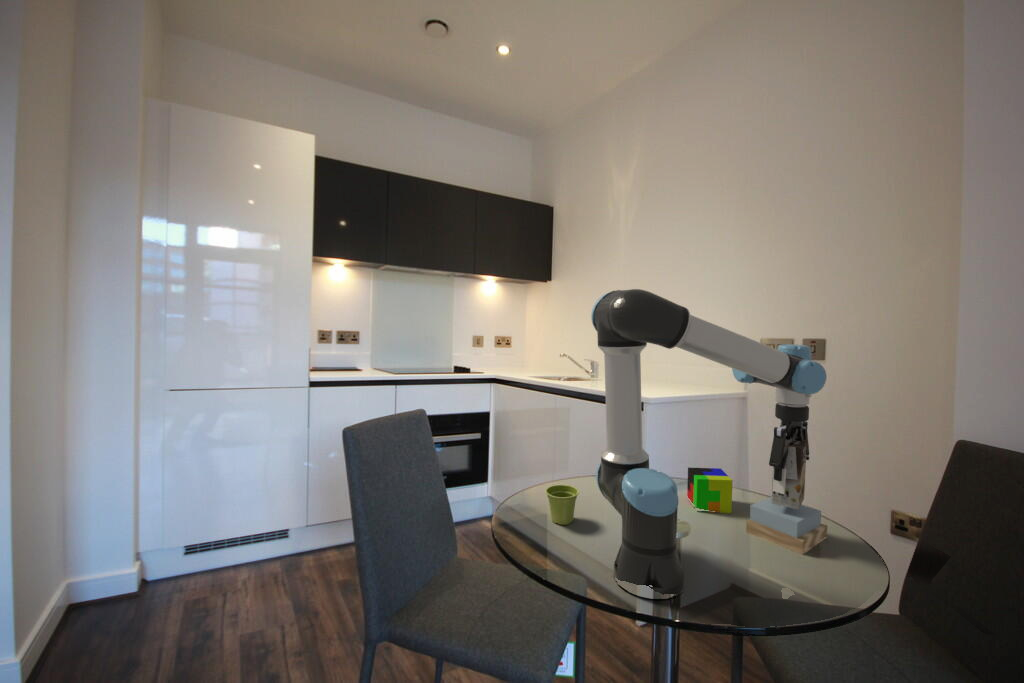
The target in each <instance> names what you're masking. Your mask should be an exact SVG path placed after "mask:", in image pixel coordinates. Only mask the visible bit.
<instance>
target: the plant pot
mask: <svg viewBox="0 0 1024 683" xmlns="http://www.w3.org/2000/svg"><path fill="white" fill-rule="evenodd" d="M579 491H580V490H579V489H578V488H576V487H574V486H571V485H570V484H569V485H567V484H555V485H554V484H553V485H550V486H548V487H546V488H545V491H544V492H545V494H546V497H547V499H548V505H549V511H550V518H551V522H552V523H554V524H558V525H561V526H562V525H564V526H565V525H569V524H571V523H572V522H574V516H575V509H576V500H577V498H578V495H579V493H580V492H579Z"/></svg>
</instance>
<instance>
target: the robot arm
mask: <svg viewBox="0 0 1024 683" xmlns="http://www.w3.org/2000/svg"><path fill="white" fill-rule="evenodd" d="M591 322H592V326H593V328H594V330H595V331H596V332H597V333H596V334H597V347H598V349H600V351H602V352H603V355H604V385H605V386H604V387H605V390H604V391H605V392H604V394H605V422H606V423H605V424H606V425H605V426H606V448H605V449H603V451H602V452H601V454H600V463H599V464H598V466H597V469H596V472H595V478H596V480H595V481H596V483H597V484H596V485H597V487H598V489H599V491H600V493H601V494H602V496H603V497H604V499H605V500H607V501H608V503H610V505H611V506H612V507H613V508H614V509H615V511H616V512H618V514H619V515H620V516H621V519H622V520H621V544H620V547H619V549H618V552H617V554H616V557H615V560H614V563H613V574H614V575H613V577H614V576H615V577H616V578H617V579H618V580H620V581H626V582H629V583H633V584H636V585H646V586H649V585H652V586H653V587H650V586H649V587H650V588H651V589H653V590H654V591H655V592H659V593H661V594H663V595H664V594H676V595H677V594H679V593H680V592H681V591H682V590H683V591H684V589H683V588H685V574H684V571H683V568H682V566H681V561H680V558H679V554H678V551H677V550H678V549H677V541H678V540H677V537H678V510H679V509H678V507H679V501H680V500H679V495H678V487H677V486H678V485H677V483H676V482H675V481H674V479H673V478H672V477H670V476H669V475H668V474H666V473H664V472H662V471H657V470H656V469H652V468H650V456H649V454H648V453H647V451H646V450H644V448H643V423H642V422H643V420H642V418H643V417H642V415H643V414H642V377H641V376H642V371H641V370H642V369H641V366H642V364H641V353H642V352H643V350H644V349H645V348H646V347H647V346H648V344H652V345H656V346H660V347H662V348H666V349H667V350H671V349H674V348H677V349H678V348H679V349H680V350H683V351H686V352H688V353H691V354H694V355H697V356H699V357H702V358H705V359H707V360H709V361H712V362H715V363H718V364H720V365H722V366H725V367H728V368H731V370H732V375H733V377H734V378H735V380H736V381H737V382H740V383H743V384H753V383H755V384H762V385H766V386H769V387H775V401H776V403H775V408H774V411H775V412H774V417H776V418H777V419H779V420H780V425H779V427H776V426H775V427H774V429H773V439H772V444H771V450H770V456H769V461H768V465H769V466H770V467H772V468H773V467H774V470H773V469H772V479H773V491H775V492H778V493H781V494H785V484H786V468H784V467H785V463H786V460H787V456H788V446H789V445H792V444H793V443H794V440H797V441H802V440H807V452H806V461H809V460H810V448H809V447H810V446H809V445H810V444H809V434H808V426H809V423H808V421H809V419H810V417H809V416H810V407H809V404H810V398H811V397H812V395H815V394H817V393H819V392H820V391H822V389H823V388H824V387H825V384H826V381H827V372H826V368H824V366H823V365H822V364H821V363H819V362H817V361H815V360H814V361H813V359H812V349H811V346H808V345H806V344H805V345H804V344H790V343H789V344H779V345H778V347H777V349H776V348H775V347H771V346H769V345H767V344H764V343H762V342H759V341H756V340H755V339H752V338H749V337H746V336H745V335H742V334H740V333H736V332H735V331H732V330H729V329H727V328H725V327H722V326H719V325H717V324H714V323H712V322H710V321H707V320H704V319H702V318H699V317H698V316H694V315H692V314H691V313H690V310H689V308H687V307H685V306H682V305H680V304H678V303H675V302H673V301H671V300H669V299H668V298H664V297H662V296H659V294H655V293H654V292H650V291H648V290H646V289H640V288H639V289H638V288H633V289H617V290H612V291H610V292H607V293H604V294H603V295H602V296H601V297H599V298H597V300H596V302H595V303H594V305H593V306H592V310H591ZM785 445H787V446H785ZM683 591H682V592H683ZM682 592H681V593H682ZM681 593H680V594H681ZM680 594H679V595H680Z"/></svg>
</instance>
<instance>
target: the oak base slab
mask: <svg viewBox="0 0 1024 683" xmlns="http://www.w3.org/2000/svg"><path fill="white" fill-rule="evenodd" d="M745 522H746V527H745V530H746V533H747V534H749V535H752V536H755V537H756V538H759V539H762V540H763V541H764V540H765V541H767V542H770V543H772V544H774V545H777V546H779V547H781V548H785V549H787V550H790V551H791V552H794V553H797V554H799V555H804V554H805V553H807V552H809V551H810V550H812V549H813V548H815V547H817V544H818V543H819V542H820V541H821V540H823V539H824V538H825V537H827V538H828V525H826V524H825V523H821V526H819V527H817V528H815V529H813V530H811V531H810V532H808V533H806V534H804V535H802V536H800V537H798V538H795V537H793V536H790V535H787V534H785V533H782V532H780V531H777V530H775V529H772V528H770V527H767V526H765V525H762V524H759V523H757V522H754V521H752V520H750V518H748V519H746V521H745ZM819 544H820V543H819ZM819 544H818V545H819Z"/></svg>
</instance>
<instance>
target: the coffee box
mask: <svg viewBox="0 0 1024 683" xmlns="http://www.w3.org/2000/svg"><path fill="white" fill-rule="evenodd" d="M785 446H787V445H785ZM806 452H807V440H802V441H797V440H794V443H793V444H792V445H789V446H788V456H787V460H786V463H785V467H784V468H786V484H785V494H781V493H778V492H775V491H773V478H772V480H771V482H772V483H771V484H772V485H771V497H772V501H771V503H772V504H777V505H781V506H785V507H789V508H793V509H799V507H800V505H801V504H802V503H803V502H804V500H805V493H806V492H805V489H806V471H807V470H806V469H807V460H806ZM773 470H774V467H773V466H772V471H773Z"/></svg>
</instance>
